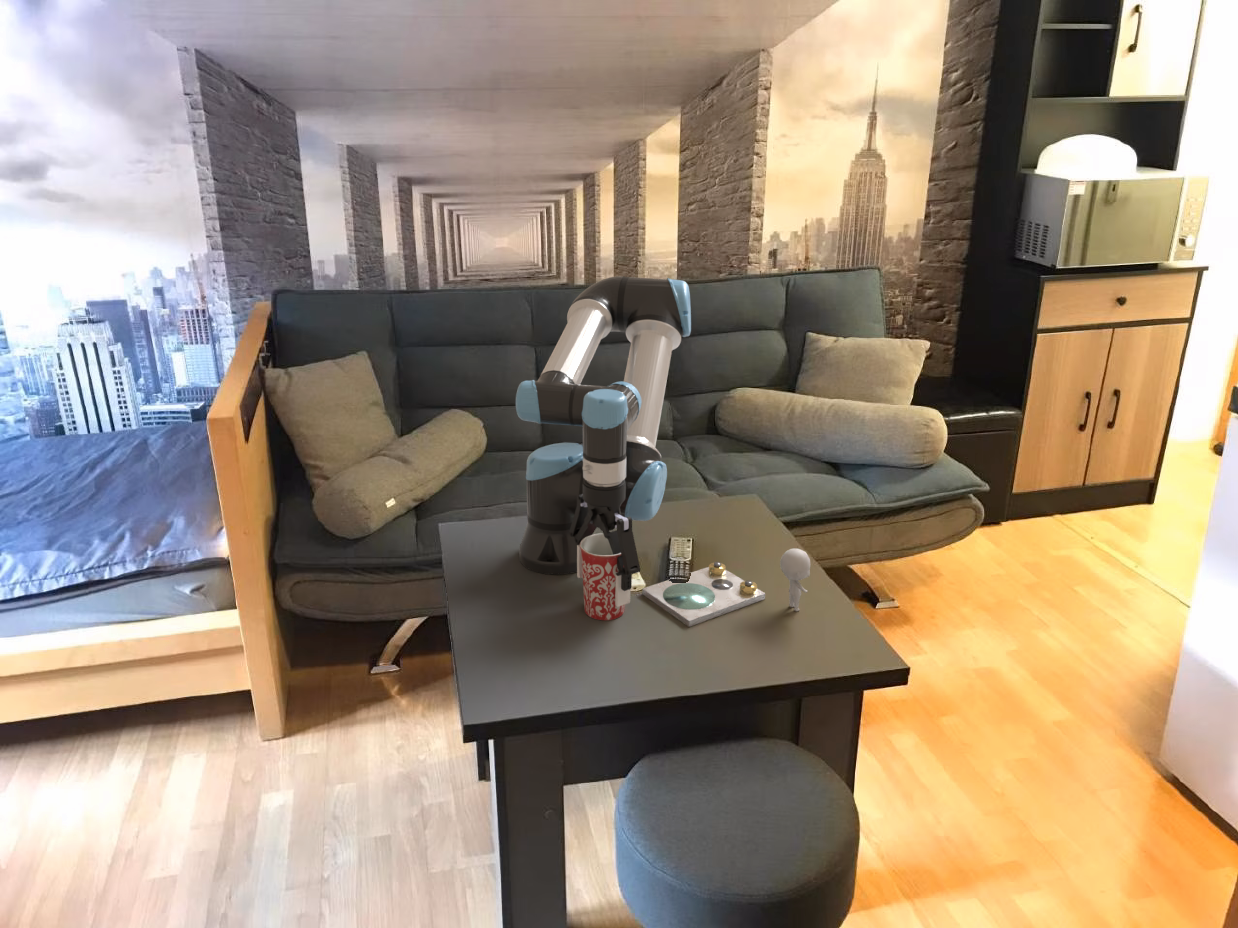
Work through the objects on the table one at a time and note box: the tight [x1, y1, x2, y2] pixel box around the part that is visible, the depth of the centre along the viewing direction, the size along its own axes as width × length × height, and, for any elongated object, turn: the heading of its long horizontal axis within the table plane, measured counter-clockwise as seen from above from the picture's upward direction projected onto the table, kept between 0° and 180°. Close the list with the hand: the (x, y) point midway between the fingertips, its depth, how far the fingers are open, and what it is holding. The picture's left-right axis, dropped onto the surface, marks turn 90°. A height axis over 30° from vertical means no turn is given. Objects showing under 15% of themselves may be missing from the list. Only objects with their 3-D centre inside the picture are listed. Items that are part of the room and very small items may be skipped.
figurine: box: [779, 547, 811, 612], centre depth 175 cm, size 8×5×12 cm
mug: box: [580, 532, 626, 621], centre depth 174 cm, size 13×9×14 cm
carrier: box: [641, 561, 766, 628], centre depth 180 cm, size 14×18×3 cm
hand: (602, 589), depth 176 cm, fingers closed on mug, 12 cm apart
